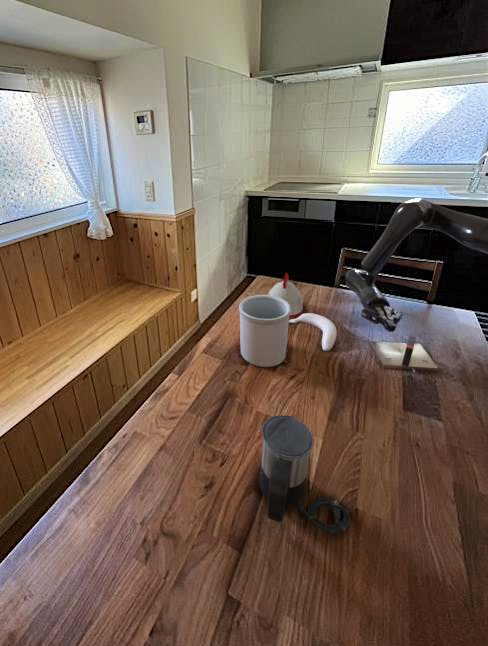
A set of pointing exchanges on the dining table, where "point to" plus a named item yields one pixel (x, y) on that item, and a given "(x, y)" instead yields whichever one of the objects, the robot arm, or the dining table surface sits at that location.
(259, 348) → the utensil holder
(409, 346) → the dark grey rectangular block
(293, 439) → the milk frother
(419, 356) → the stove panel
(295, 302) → the kitchen timer
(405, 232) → the robot arm
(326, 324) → the banana
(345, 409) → the dining table surface
